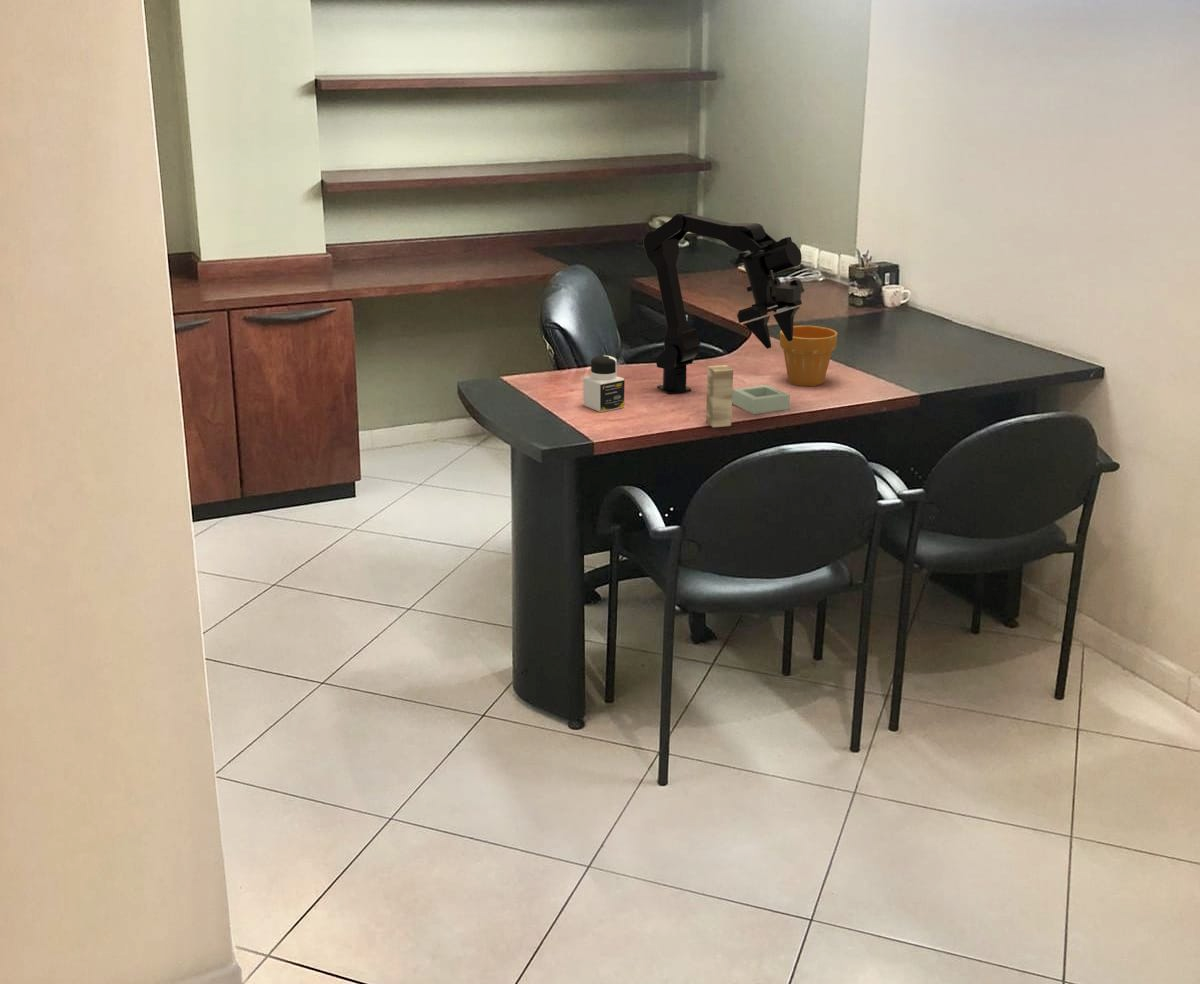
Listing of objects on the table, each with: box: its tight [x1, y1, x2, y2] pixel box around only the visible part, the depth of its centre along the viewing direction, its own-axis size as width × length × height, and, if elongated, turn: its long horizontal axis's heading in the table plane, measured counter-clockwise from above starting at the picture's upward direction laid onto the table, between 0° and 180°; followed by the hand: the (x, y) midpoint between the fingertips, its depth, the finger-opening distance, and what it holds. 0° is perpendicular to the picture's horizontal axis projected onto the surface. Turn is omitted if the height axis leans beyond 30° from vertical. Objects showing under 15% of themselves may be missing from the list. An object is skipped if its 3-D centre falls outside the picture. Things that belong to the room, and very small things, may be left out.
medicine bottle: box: [582, 355, 625, 413], centre depth 288 cm, size 7×7×12 cm
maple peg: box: [705, 364, 734, 428], centre depth 276 cm, size 4×4×13 cm
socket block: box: [732, 384, 791, 415], centre depth 290 cm, size 10×10×4 cm
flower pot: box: [779, 325, 838, 387], centre depth 309 cm, size 14×14×13 cm
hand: (779, 344), depth 281 cm, fingers open, 9 cm apart
